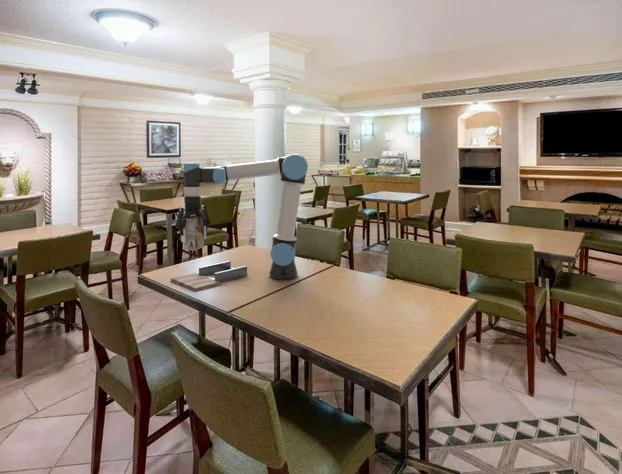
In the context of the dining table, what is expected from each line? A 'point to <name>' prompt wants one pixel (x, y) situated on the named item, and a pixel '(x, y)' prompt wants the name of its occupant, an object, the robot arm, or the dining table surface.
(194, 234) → the coffee box
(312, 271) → the dining table surface
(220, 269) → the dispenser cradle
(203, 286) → the serving board
